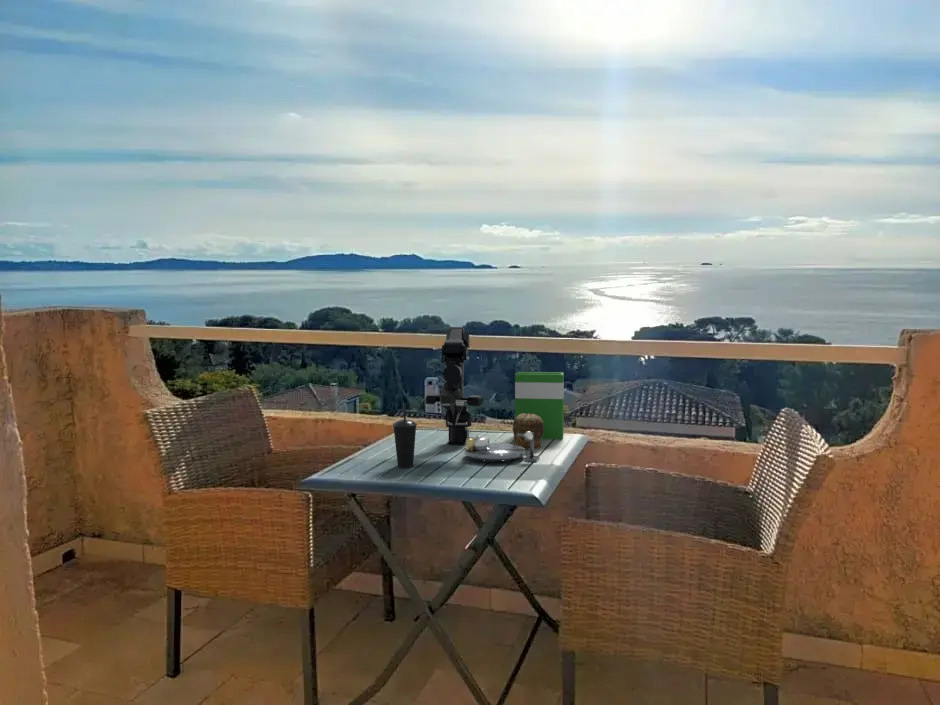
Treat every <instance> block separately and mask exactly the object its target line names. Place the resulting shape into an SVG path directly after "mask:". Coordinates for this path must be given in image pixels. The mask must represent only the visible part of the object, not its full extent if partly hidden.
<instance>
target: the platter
mask: <svg viewBox="0 0 940 705" xmlns="http://www.w3.org/2000/svg"><path fill="white" fill-rule="evenodd" d="M464 455H465V456H466V457H468V458H472V459H475V460H476V459H477V460H478V459H481V460H509V459H511V460H514V459H515V460H516V459H519V458H522V457H523V456H525V455H526V449H524V448H523V447H521V446H517V445H515V444H513V443H501V442H499V443H498V442H496V443H494V442H493V443H492V442H489V450H485V451H474V446H473V439H472V438H468V439H466V444H465V448H464ZM481 460H480V461H481ZM509 461H510V460H509Z"/></svg>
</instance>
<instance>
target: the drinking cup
mask: <svg viewBox="0 0 940 705" xmlns="http://www.w3.org/2000/svg"><path fill="white" fill-rule="evenodd" d="M402 406H403V410H402V411H403V419H399V420H397V421H395V422H393V423H392V427H393V434H394V444H395V453H396V460H397V462H396V464H397V468H399V469H410V468H413V467H414V459H415V448H416V447H415V444H416V430H417V425H418V423H417V422H415V421H413V420H410V419H407V416H406V415H407V413H406V412H407V410H406V408H407V406H406V403H403V405H402Z"/></svg>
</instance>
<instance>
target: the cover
mask: <svg viewBox="0 0 940 705" xmlns="http://www.w3.org/2000/svg"><path fill="white" fill-rule="evenodd" d="M469 438H472V439H473V446H474V451H485V450H489V443H490V437H488V436H484V435H480V434H478V435H475V436H469Z"/></svg>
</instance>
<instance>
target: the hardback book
mask: <svg viewBox="0 0 940 705" xmlns="http://www.w3.org/2000/svg"><path fill="white" fill-rule="evenodd" d="M564 374H565V373H564V372H563V371H562V372H559V371H558V372H555V371H554V372H553V371H552V372H550V371H548V372H546V371H543V372H542V371H534V372H533V371H517V372H516V373H514V419H515V418H516V417H517V416H518V415H520V414H522V413H525V414H528V413H529V414H535V415H538V416H539V417H541V419H542V420H543V423H544V433H543V435H542V438H541V440H563V439H564V426H565V425H564V417H565V416H564V410H565V408H564V405H565V404H564V398H565V397H564V395H565V393H564V392H565V391H564V390H565V389H564V387H565V385H564V380H565V379H564V378H565V375H564Z"/></svg>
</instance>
